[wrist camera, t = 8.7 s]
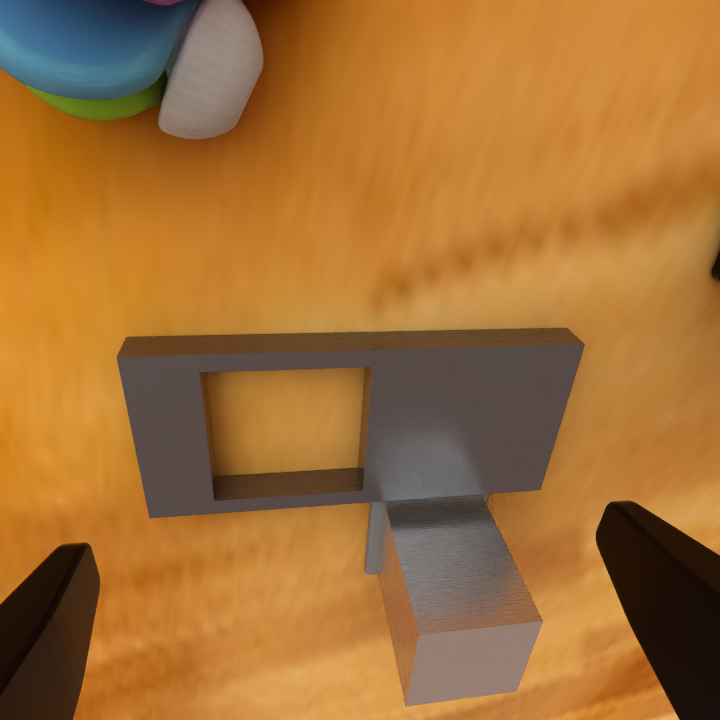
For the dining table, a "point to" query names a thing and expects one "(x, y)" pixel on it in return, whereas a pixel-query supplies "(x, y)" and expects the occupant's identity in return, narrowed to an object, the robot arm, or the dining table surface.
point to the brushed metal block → (453, 600)
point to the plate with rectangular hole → (379, 414)
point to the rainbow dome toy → (136, 59)
